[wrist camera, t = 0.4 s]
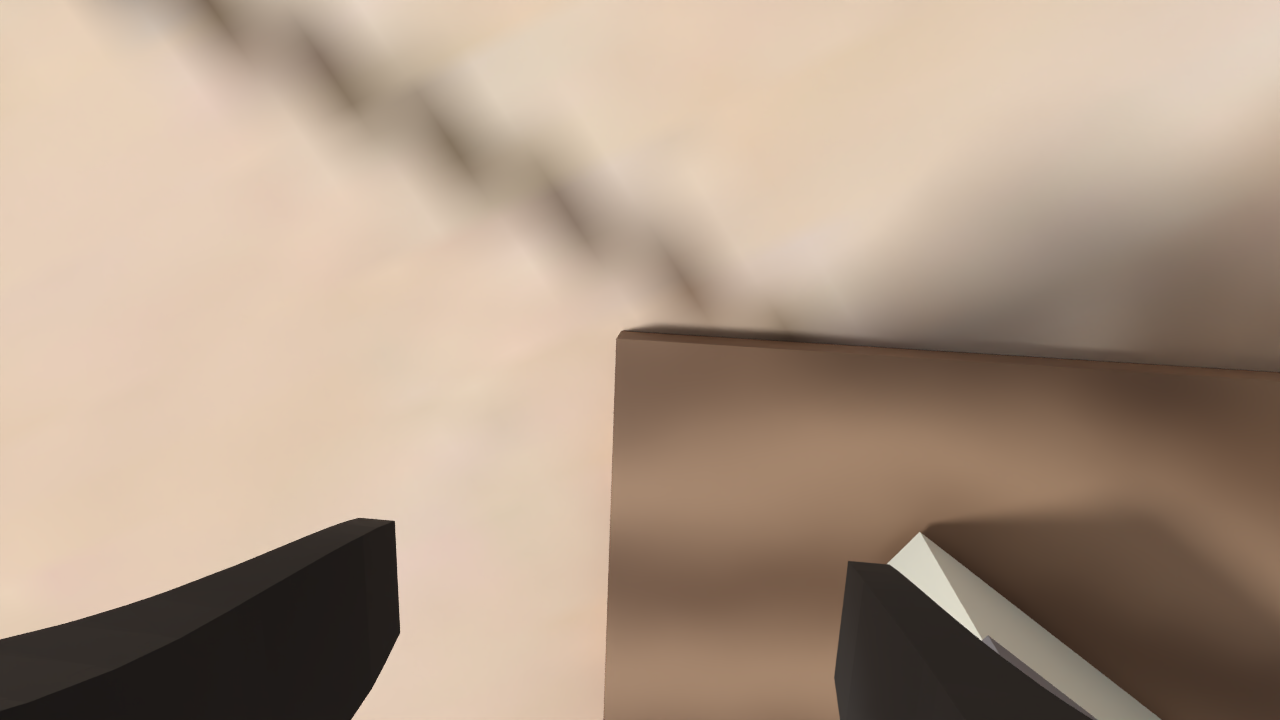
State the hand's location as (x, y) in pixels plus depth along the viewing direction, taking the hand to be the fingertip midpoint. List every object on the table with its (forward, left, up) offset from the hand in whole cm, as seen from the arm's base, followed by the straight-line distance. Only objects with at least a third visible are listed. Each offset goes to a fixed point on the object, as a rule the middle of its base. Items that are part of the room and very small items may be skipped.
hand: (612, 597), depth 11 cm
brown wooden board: (-5, -10, -10) cm, 15 cm away
